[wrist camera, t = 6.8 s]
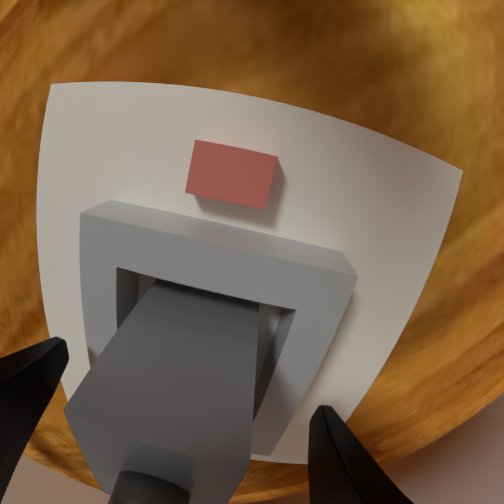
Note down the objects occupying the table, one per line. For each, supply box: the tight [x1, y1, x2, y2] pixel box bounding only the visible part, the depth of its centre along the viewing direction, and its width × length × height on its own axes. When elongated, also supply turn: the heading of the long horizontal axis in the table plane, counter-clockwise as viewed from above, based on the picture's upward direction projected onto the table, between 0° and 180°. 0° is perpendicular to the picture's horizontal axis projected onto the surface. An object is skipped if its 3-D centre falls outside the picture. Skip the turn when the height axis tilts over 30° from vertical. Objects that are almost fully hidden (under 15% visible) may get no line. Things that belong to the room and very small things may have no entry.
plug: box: [63, 279, 259, 504], centre depth 7 cm, size 5×4×8 cm
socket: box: [37, 82, 463, 464], centre depth 11 cm, size 18×16×3 cm
